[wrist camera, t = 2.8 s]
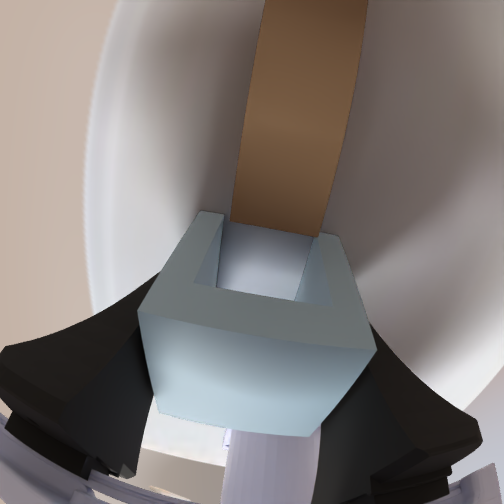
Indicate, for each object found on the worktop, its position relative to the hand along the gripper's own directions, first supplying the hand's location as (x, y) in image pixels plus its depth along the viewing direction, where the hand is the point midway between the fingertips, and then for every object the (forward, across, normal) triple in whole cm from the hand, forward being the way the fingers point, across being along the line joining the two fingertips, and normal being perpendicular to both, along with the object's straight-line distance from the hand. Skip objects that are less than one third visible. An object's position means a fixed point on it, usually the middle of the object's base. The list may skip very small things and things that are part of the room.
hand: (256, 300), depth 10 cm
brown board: (+1, 0, -10) cm, 10 cm away
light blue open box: (+1, 0, 0) cm, 1 cm away
